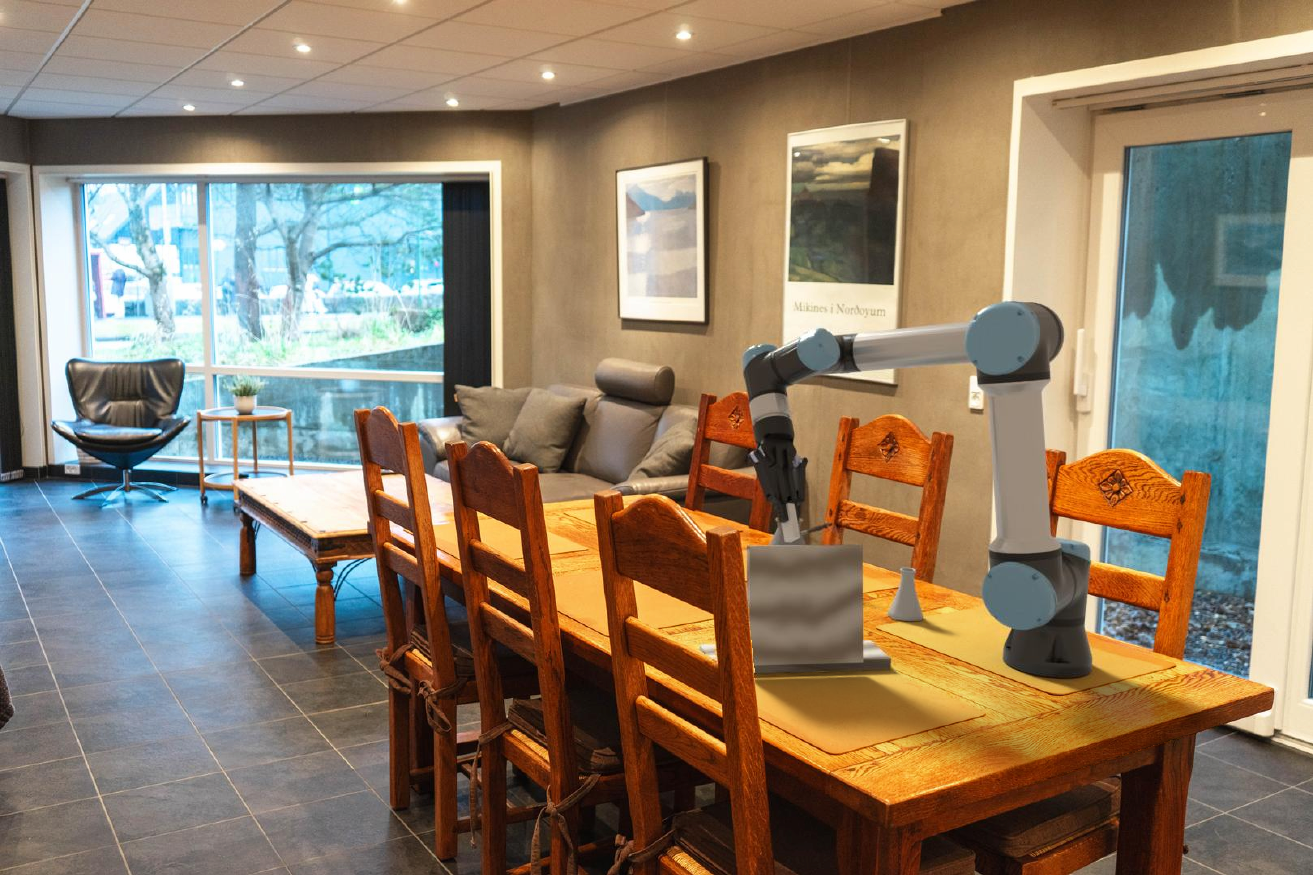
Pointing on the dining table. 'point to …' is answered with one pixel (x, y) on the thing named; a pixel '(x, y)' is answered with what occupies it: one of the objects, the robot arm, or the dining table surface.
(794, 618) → the panel
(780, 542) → the coffee pot
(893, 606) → the flask
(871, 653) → the board
